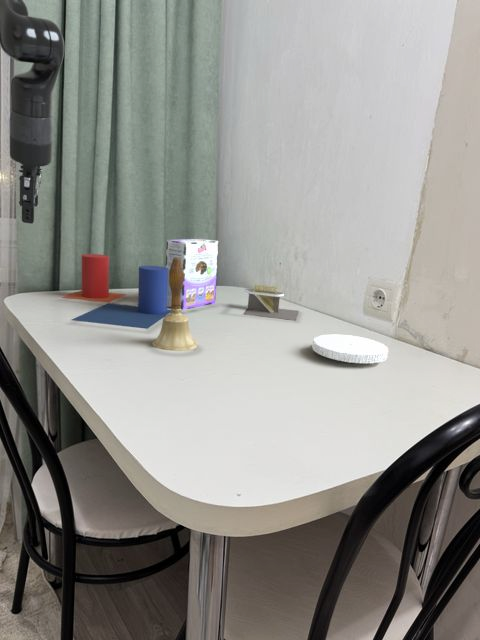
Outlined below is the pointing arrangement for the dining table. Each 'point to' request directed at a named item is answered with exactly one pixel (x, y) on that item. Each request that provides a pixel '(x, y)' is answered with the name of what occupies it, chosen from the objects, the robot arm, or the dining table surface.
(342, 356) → the plastic lid
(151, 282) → the blue cylinder
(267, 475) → the dining table surface
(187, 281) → the candy box
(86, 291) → the red cylinder
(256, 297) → the platform
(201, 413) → the dining table surface
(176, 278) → the hand bell
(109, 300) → the red mat
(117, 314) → the blue mat
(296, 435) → the dining table surface
